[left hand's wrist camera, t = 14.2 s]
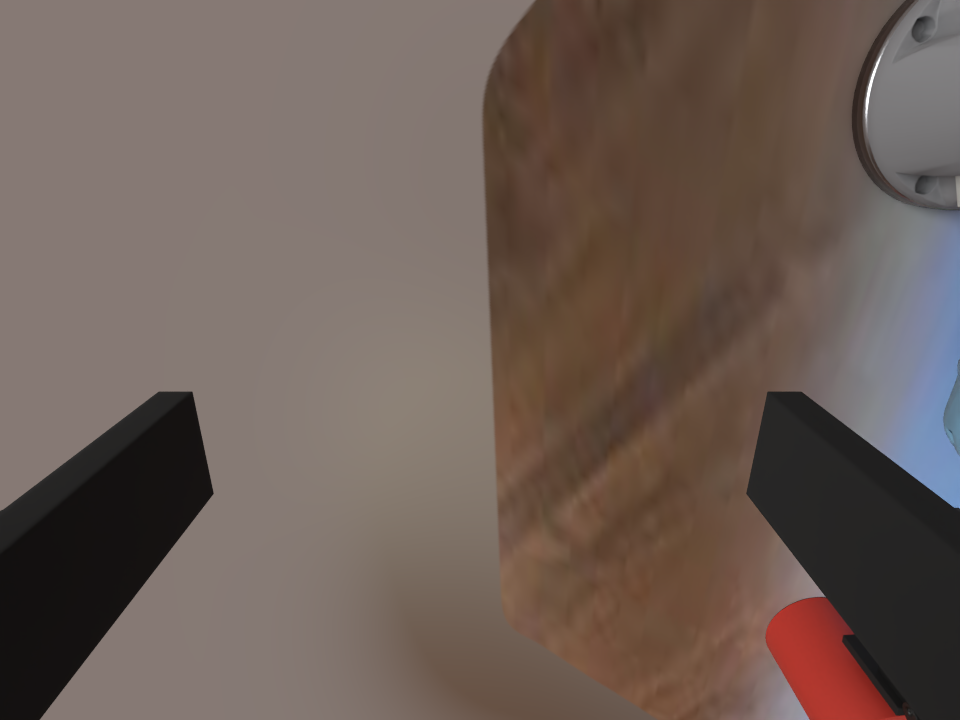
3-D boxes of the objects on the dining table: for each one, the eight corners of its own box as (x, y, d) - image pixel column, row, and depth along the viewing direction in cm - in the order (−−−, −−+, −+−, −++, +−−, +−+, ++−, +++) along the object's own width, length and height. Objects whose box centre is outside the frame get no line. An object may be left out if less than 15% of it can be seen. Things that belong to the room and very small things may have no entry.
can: (754, 616, 53) (825, 737, 42) (842, 584, 52) (939, 701, 41) (779, 673, 56) (852, 801, 45) (864, 644, 55) (960, 769, 44)
